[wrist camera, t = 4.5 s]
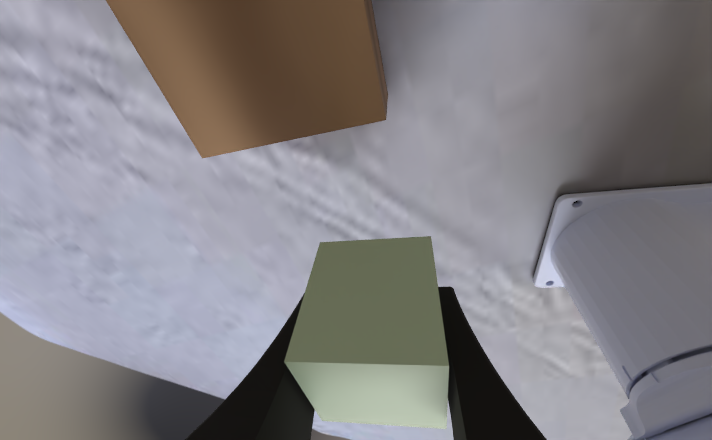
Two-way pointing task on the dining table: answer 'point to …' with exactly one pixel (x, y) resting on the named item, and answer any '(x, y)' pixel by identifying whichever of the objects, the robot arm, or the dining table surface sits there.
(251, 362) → the dining table surface
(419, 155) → the dining table surface
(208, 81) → the walnut block
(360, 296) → the sage block
